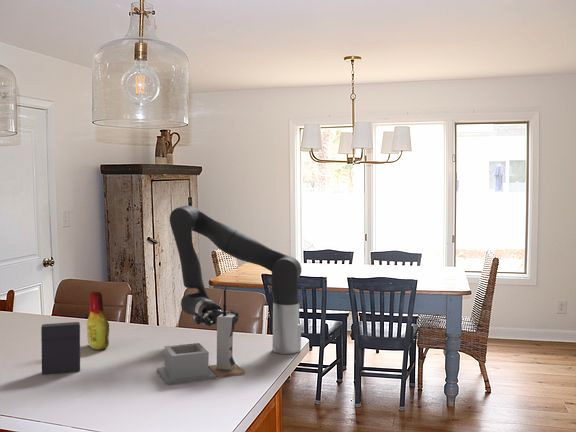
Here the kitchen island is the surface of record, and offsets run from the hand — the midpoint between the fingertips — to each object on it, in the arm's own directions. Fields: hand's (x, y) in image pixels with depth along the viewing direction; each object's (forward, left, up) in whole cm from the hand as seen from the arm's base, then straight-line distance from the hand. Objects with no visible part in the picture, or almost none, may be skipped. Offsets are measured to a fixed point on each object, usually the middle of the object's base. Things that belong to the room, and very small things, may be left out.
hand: (222, 321), depth 184 cm
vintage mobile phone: (0, +4, -14) cm, 15 cm away
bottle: (+35, -38, -15) cm, 53 cm away
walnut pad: (0, +4, -15) cm, 15 cm away
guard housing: (+13, +3, -15) cm, 20 cm away
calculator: (+48, -14, -15) cm, 52 cm away
